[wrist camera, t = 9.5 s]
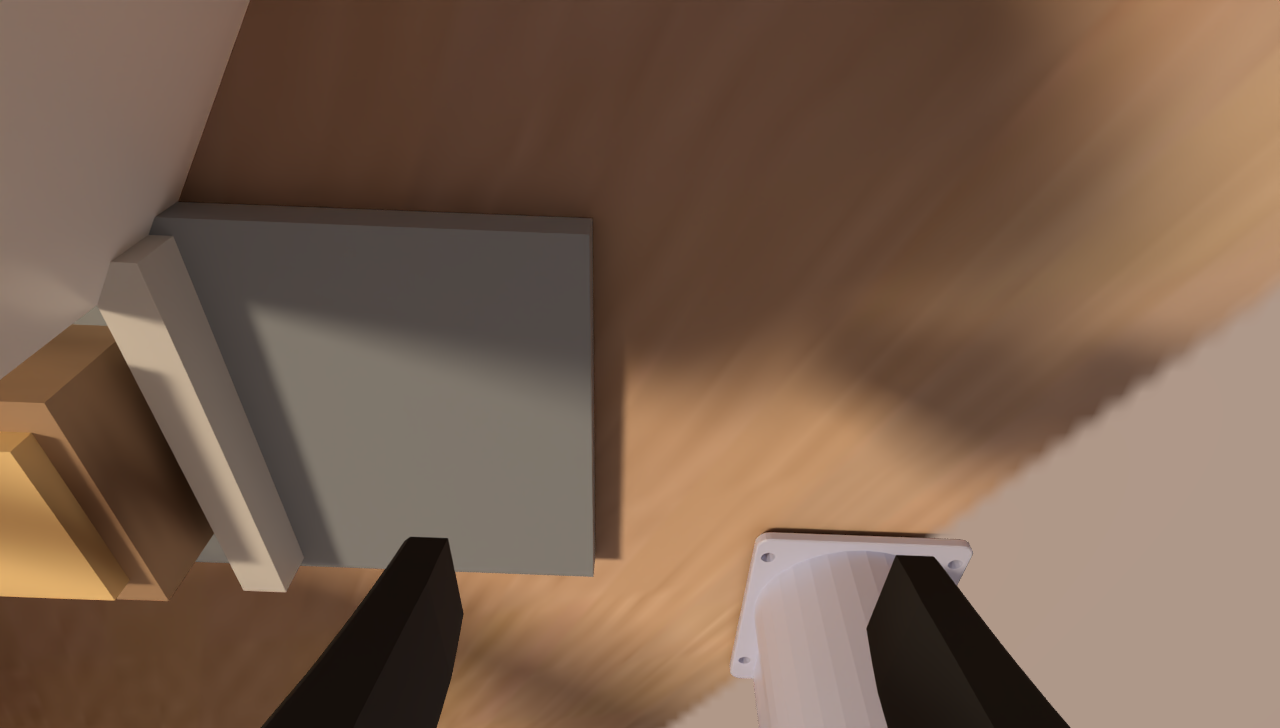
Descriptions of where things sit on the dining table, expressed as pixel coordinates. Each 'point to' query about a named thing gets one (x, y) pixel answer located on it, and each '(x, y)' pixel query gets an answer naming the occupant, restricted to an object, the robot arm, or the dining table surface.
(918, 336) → the dining table surface
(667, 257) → the dining table surface
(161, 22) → the gable box
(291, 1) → the dining table surface
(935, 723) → the robot arm
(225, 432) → the board
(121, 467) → the wooden box
